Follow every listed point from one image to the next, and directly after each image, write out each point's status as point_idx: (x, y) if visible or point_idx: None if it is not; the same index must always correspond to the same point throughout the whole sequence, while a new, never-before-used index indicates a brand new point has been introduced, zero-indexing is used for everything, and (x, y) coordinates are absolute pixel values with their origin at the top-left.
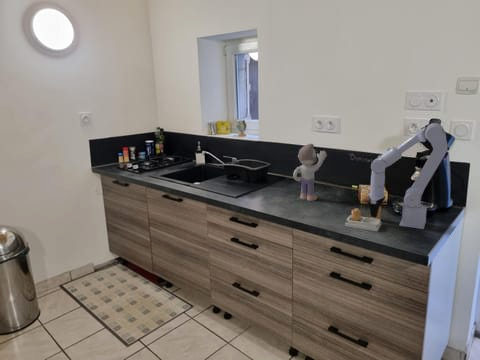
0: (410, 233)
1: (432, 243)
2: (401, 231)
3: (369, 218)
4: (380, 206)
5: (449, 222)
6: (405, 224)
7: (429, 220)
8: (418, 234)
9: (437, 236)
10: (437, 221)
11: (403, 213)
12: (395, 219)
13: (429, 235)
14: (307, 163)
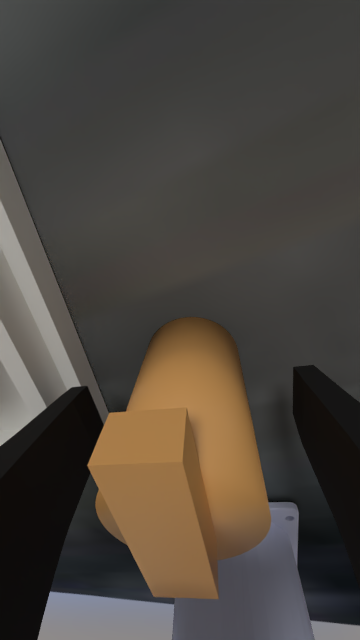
0: (96, 541)
1: (58, 589)
2: (89, 515)
3: (14, 383)
4: (220, 555)
5: (353, 624)
6: None
7: (351, 582)
8: (111, 561)
9: (143, 598)
10: (349, 601)
11: (193, 633)
12: (285, 468)
13: (132, 584)
14: None
